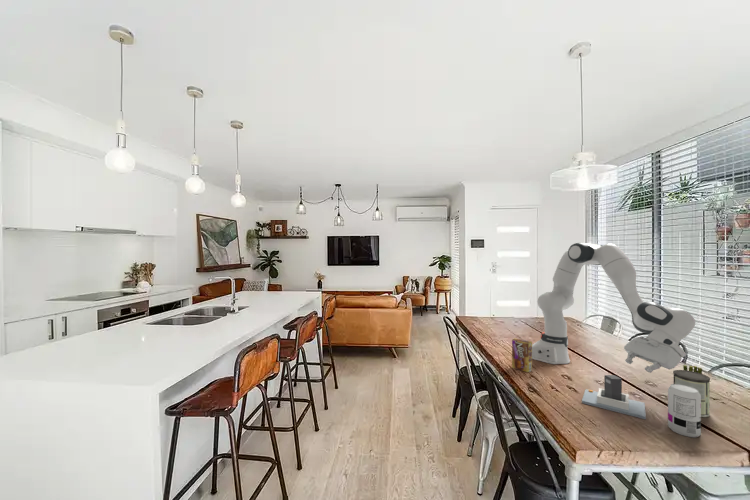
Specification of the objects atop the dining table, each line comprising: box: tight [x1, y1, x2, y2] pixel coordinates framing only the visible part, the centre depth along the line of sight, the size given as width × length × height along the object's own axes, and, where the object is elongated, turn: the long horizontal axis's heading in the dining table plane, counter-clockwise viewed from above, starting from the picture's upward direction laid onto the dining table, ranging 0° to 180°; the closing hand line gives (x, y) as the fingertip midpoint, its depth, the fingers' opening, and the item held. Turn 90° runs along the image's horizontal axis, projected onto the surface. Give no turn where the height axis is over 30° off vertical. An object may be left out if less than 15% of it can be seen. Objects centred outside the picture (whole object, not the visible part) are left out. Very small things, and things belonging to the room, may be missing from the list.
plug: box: [603, 374, 623, 401], centre depth 130 cm, size 4×4×10 cm
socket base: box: [581, 387, 647, 420], centre depth 130 cm, size 20×14×4 cm
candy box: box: [511, 338, 533, 373], centre depth 168 cm, size 9×4×15 cm, turn 39°
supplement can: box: [667, 383, 702, 438], centre depth 111 cm, size 8×8×15 cm
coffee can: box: [672, 369, 711, 418], centre depth 125 cm, size 10×10×14 cm
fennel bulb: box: [682, 364, 703, 374], centre depth 141 cm, size 6×5×12 cm
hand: (637, 366), depth 131 cm, fingers open, 8 cm apart
